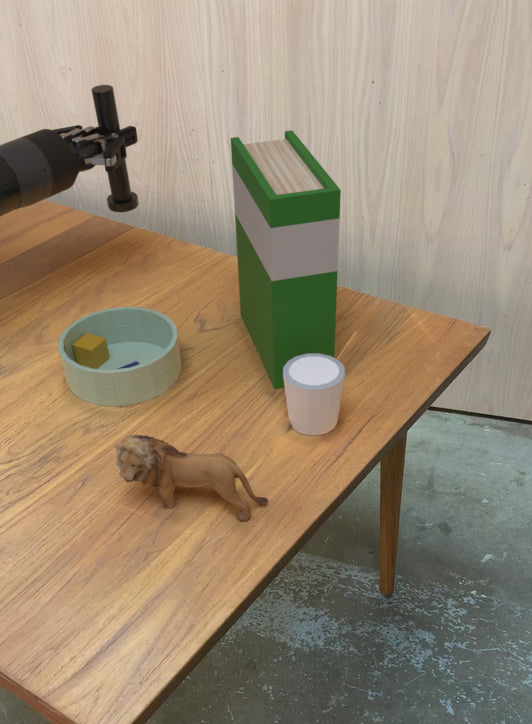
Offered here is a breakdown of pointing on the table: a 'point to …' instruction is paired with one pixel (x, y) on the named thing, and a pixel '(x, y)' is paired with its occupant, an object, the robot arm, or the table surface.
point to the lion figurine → (181, 471)
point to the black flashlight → (107, 124)
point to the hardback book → (285, 250)
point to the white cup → (313, 392)
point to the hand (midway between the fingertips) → (125, 131)
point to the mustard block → (91, 351)
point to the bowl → (123, 356)
